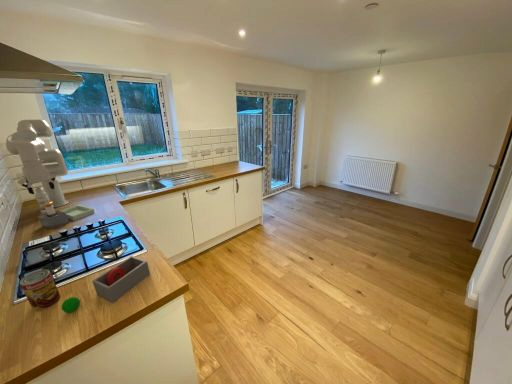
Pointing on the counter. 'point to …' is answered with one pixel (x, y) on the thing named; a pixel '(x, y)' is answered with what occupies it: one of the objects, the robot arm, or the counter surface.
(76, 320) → the counter surface
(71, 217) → the tray
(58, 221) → the hitch block
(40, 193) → the plastic bottle
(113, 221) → the counter surface
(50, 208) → the hitch pin
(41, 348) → the counter surface
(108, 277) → the red rounded piece
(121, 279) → the grey open box
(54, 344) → the counter surface
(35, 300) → the canned food
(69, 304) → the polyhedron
